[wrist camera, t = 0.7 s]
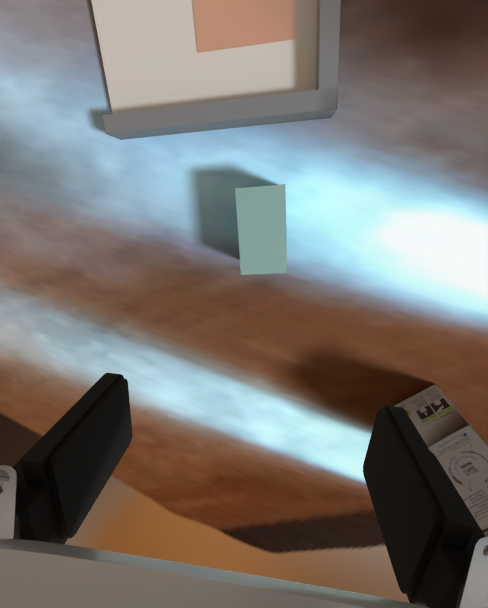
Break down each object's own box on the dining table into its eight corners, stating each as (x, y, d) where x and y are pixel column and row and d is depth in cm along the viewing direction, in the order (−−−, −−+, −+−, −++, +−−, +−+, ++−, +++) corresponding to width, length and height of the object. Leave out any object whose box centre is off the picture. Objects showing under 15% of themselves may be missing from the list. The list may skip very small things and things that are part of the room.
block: (283, 187, 31) (285, 184, 26) (285, 260, 34) (286, 272, 28) (242, 190, 32) (234, 188, 26) (247, 262, 34) (241, 274, 29)
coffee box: (389, 406, 39) (461, 538, 24) (435, 382, 37) (544, 508, 22) (426, 450, 41) (513, 599, 25) (471, 429, 39) (595, 576, 24)
